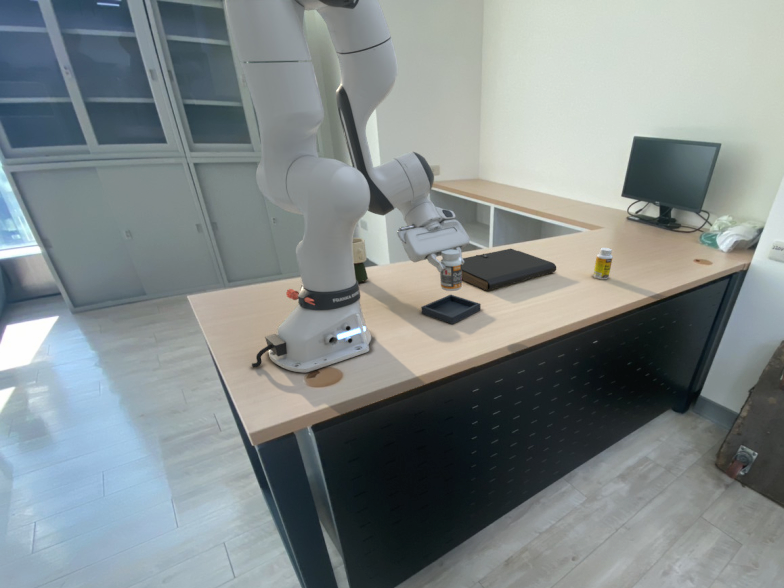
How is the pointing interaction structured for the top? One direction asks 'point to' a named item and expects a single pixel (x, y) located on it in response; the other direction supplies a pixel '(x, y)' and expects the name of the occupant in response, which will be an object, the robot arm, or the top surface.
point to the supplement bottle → (603, 264)
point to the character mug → (359, 259)
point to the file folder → (503, 268)
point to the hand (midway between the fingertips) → (452, 267)
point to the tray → (451, 309)
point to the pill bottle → (451, 271)
